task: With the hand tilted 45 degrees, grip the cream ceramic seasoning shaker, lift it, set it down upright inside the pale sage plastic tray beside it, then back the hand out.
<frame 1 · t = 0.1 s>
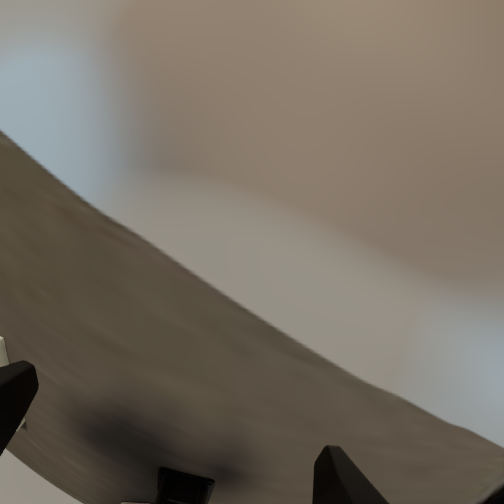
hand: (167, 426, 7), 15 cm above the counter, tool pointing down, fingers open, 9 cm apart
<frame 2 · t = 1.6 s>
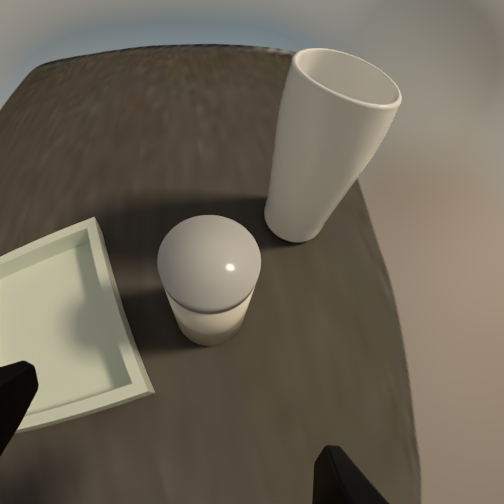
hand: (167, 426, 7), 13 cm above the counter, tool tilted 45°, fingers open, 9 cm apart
tray: (47, 333, 20), on the counter
drinking glass: (291, 220, 28), on the counter
shaker: (209, 313, 23), on the counter
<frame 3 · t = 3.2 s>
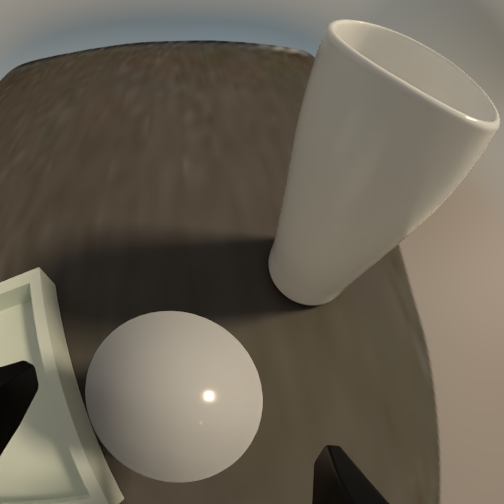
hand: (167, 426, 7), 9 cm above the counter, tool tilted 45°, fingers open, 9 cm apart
drinking glass: (305, 271, 21), on the counter
shaker: (191, 406, 15), on the counter
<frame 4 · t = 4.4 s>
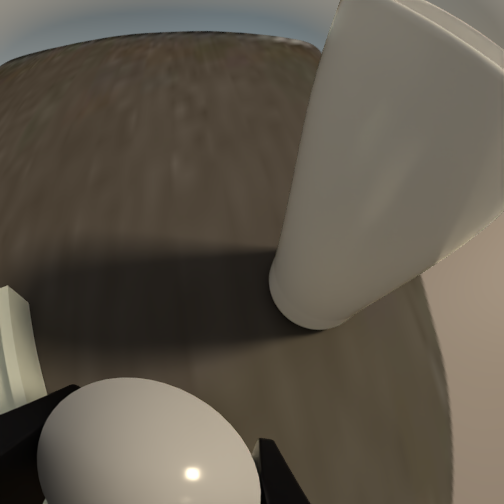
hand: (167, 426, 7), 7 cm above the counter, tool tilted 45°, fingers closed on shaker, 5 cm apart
drinking glass: (311, 289, 18), on the counter
shaker: (179, 446, 12), on the counter, touching gripper
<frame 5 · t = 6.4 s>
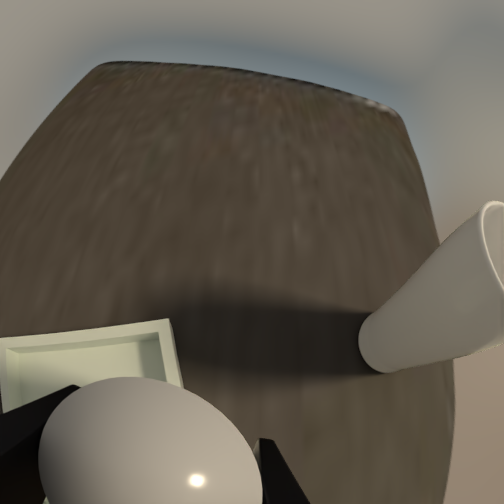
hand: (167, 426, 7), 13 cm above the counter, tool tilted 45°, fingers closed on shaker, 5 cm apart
tray: (97, 431, 17), on the counter
drinking glass: (382, 343, 23), on the counter
shaker: (180, 445, 12), point 7 cm above the counter, touching gripper
when the fingers open (8 cm above the counter, at t = 8.5 s): shaker drops 1 cm, resting on tray.
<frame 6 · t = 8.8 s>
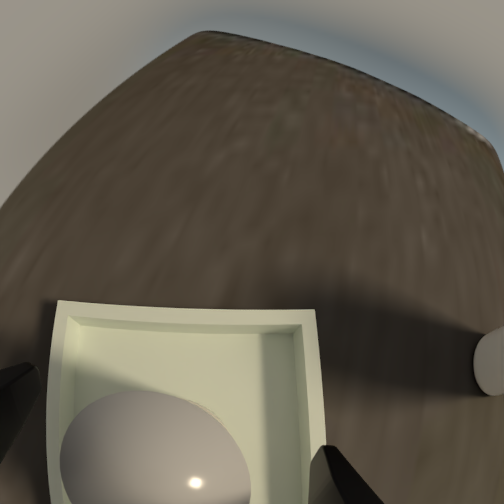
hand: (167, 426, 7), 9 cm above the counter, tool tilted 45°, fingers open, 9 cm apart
tray: (183, 442, 14), on the counter
drinking glass: (488, 366, 18), on the counter
shaker: (181, 444, 14), point 1 cm above the counter, touching tray
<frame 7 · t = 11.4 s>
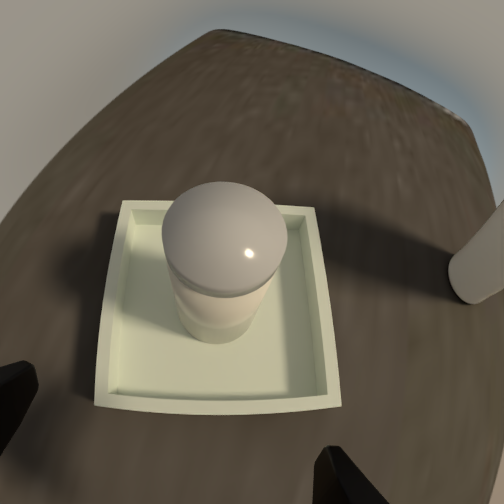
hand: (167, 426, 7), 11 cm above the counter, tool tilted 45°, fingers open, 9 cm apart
tray: (216, 309, 21), on the counter
drinking glass: (463, 281, 25), on the counter
shaker: (216, 306, 20), point 1 cm above the counter, touching tray
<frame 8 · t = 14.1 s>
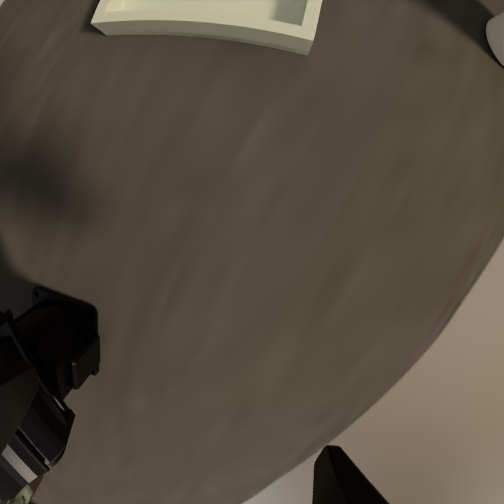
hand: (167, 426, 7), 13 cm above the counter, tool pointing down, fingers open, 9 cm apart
drinking glass: (503, 47, 14), on the counter
olive oil: (21, 459, 30), on the counter
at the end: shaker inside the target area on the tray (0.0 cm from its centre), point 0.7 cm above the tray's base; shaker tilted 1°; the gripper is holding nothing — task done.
